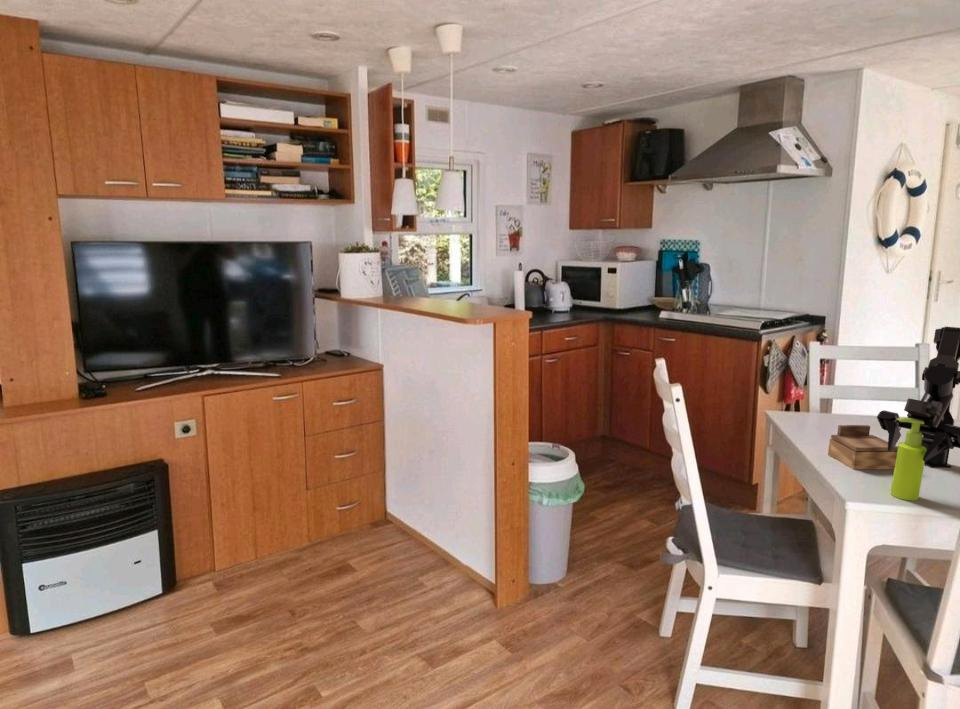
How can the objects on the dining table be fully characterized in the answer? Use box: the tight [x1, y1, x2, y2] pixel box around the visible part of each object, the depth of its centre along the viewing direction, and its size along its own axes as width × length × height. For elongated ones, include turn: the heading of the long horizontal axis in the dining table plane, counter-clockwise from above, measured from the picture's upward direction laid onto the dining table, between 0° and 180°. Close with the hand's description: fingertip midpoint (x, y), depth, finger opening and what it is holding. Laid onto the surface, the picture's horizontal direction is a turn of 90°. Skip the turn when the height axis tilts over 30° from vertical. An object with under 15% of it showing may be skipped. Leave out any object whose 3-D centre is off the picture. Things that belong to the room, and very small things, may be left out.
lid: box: [830, 424, 898, 451], centre depth 185 cm, size 13×12×4 cm
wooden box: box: [827, 438, 897, 470], centre depth 186 cm, size 13×12×5 cm
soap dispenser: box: [890, 417, 927, 502], centre depth 160 cm, size 6×7×20 cm
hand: (906, 455), depth 158 cm, fingers open, 8 cm apart
